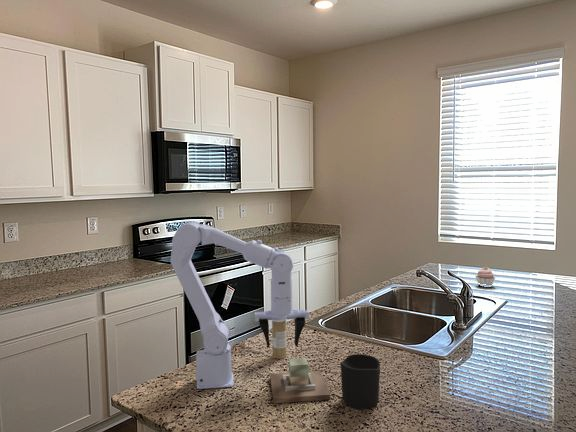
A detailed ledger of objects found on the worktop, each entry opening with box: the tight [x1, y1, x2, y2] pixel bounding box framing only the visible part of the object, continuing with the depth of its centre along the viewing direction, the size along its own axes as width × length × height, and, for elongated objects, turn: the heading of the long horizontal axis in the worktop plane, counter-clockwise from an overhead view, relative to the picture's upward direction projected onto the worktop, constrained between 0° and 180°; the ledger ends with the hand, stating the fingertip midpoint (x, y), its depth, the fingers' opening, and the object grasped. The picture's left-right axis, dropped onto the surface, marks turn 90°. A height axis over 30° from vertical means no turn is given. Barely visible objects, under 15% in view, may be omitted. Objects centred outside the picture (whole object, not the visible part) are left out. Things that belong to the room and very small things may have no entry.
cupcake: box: [475, 266, 496, 286], centre depth 222 cm, size 9×9×10 cm
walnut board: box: [269, 370, 331, 404], centre depth 117 cm, size 14×14×2 cm
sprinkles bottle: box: [271, 319, 288, 360], centre depth 138 cm, size 5×5×14 cm
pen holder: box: [340, 353, 381, 410], centre depth 109 cm, size 9×9×10 cm
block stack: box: [288, 357, 309, 386], centre depth 117 cm, size 4×4×6 cm
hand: (282, 345), depth 122 cm, fingers open, 7 cm apart
